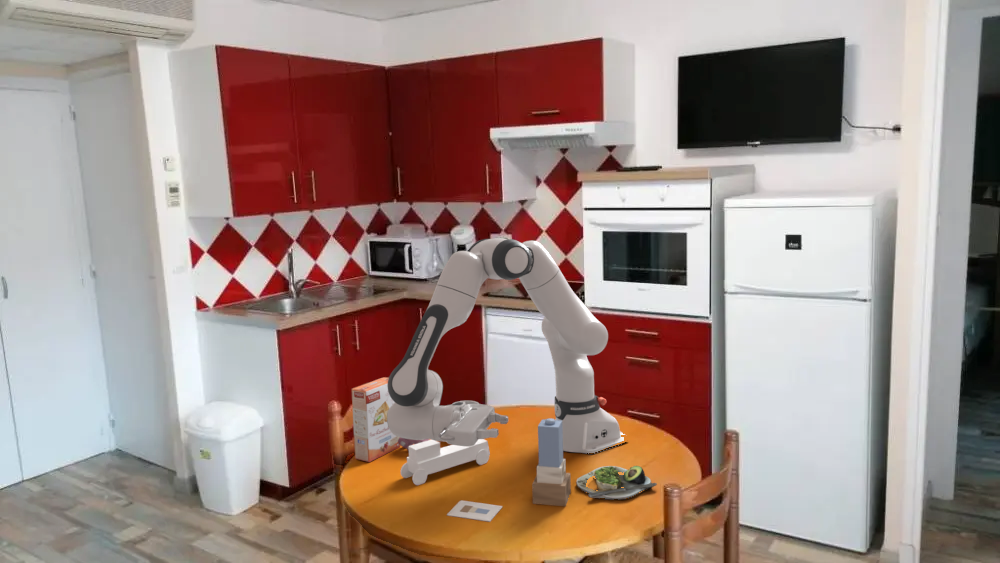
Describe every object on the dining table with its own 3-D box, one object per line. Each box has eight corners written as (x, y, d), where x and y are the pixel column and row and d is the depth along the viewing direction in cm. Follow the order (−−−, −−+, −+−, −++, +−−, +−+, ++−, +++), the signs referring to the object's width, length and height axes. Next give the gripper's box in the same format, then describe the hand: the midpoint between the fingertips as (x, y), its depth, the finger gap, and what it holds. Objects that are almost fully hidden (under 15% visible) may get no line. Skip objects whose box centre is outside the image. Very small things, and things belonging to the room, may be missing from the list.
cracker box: (370, 463, 210) (365, 391, 207) (354, 459, 213) (349, 388, 210) (402, 447, 221) (398, 378, 218) (386, 443, 225) (382, 376, 221)
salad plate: (616, 513, 175) (615, 494, 174) (559, 491, 188) (559, 474, 187) (664, 487, 188) (664, 470, 187) (608, 468, 201) (608, 452, 200)
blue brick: (543, 458, 185) (542, 416, 184) (563, 459, 184) (562, 417, 182) (539, 466, 181) (537, 422, 179) (559, 467, 179) (558, 424, 178)
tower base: (539, 489, 188) (538, 455, 187) (570, 492, 186) (570, 457, 185) (532, 503, 181) (531, 468, 179) (565, 506, 179) (564, 470, 177)
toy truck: (413, 487, 193) (411, 453, 192) (400, 479, 199) (398, 446, 197) (491, 462, 208) (490, 430, 207) (476, 455, 214) (475, 424, 212)
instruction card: (460, 501, 184) (460, 499, 184) (502, 506, 180) (502, 505, 180) (446, 515, 176) (446, 514, 176) (490, 521, 172) (489, 520, 172)
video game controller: (400, 455, 219) (393, 438, 215) (406, 443, 223) (400, 426, 219) (430, 458, 216) (424, 441, 212) (436, 447, 219) (430, 430, 215)
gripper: (434, 426, 178) (490, 428, 174) (461, 399, 197) (512, 401, 193) (436, 451, 179) (491, 454, 175) (462, 422, 198) (513, 424, 194)
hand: (502, 426), depth 184 cm, fingers open, 8 cm apart
